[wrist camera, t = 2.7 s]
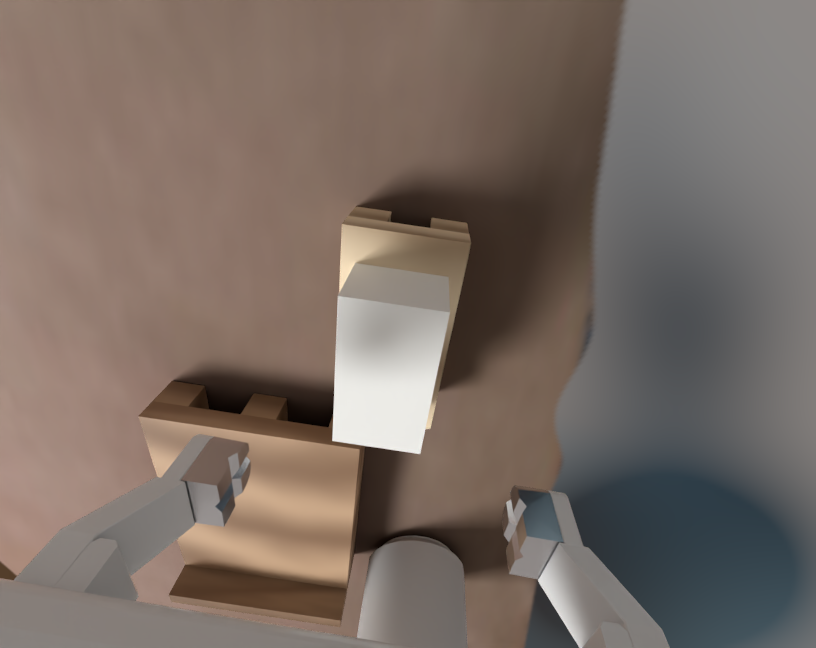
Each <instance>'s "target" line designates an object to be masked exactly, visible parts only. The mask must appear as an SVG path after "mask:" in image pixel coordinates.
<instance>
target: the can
mask: <svg viewBox="0 0 816 648" xmlns="http://www.w3.org/2000/svg"><path fill="white" fill-rule="evenodd" d="M357 638H361V639H367V640H373V641H379V642H385V643H391V644H397V645H403V646H409V647H415V648H468V647H467V626H466V605H465V584H464V570H463V564H462V562H461V561H460V560H459V558H458V557H457V556H456V555H455V554H454V553H452V552H451V551H450V550H449V548H448V547H447V546H445V545H444V544H442V543H441V542H439V541H437V540H434V539H432V538H429V537H423V536H417V535H412V536H401V537H397V538H393V539H391V540H389V541H388V542H386V543H385V544H384V545H383V546H382V547H380V548H378V549H376V550H375V551H374V552H373V554H372V555H371V556H370V558H369V564H368V571H367V577H366V583H365V590H364V596H363V603H362V609H361V615H360V622H359V628H358V635H357Z"/></svg>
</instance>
